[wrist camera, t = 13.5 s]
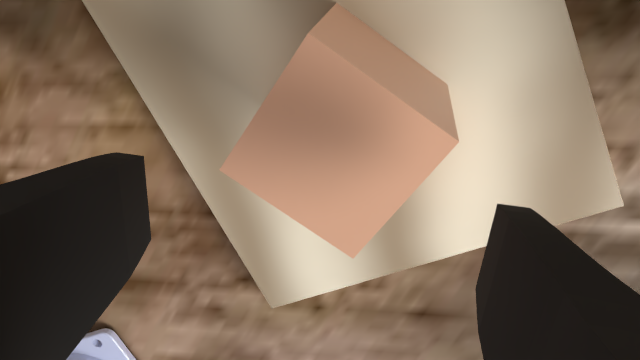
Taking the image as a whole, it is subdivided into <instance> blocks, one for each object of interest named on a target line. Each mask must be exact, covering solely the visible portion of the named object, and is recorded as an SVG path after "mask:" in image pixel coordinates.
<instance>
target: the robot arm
mask: <svg viewBox="0 0 640 360" xmlns="http://www.w3.org/2000/svg"><path fill="white" fill-rule="evenodd" d="M150 240H151V232H150V221H149V210H148V199H147V188H146V177H145V166H144V156H139V155H131V154H124V153H110V154H104V155H99V156H95V157H91V158H88V159H84V160H81V161H77V162H74V163H70V164H67V165H64V166H61V167H57V168H54V169H51V170H48V171H44V172H41V173H38V174H35V175H31V176H28V177H25V178H22V179H18V180H15V181H11V182H8V183H4V184H1V185H0V360H136V359H135V358H134V356H133V355H132V354H131V352H130V351H129V350H128V349H127V347H126V346H125V345H124V343H123V342H122V341H121V339H120V338H119V337H118V335H117V334H116V333H115V332H114V331H113V330H111V329H107V328H104V329H100V330H97V331H94V332H90V333H87V332H88V331H89V330H90V329H91V327H92V326H93V325H94V323H95V322H96V321H97V320H98V318H99V317H100V316H101V315H102V313H103V312H104V311H105V309H106V308H107V307H108V306H109V304H110V303H111V302H112V300H113V299H114V298H115V296H116V295H117V294H118V293H119V291H120V290H121V289H122V287H123V286H124V285H125V283H126V282H127V281H128V279H129V278H130V276H131V275H132V273H133V271H134V270H135V268H136V266H137V265H138V263H139V261H140V259H141V257H142V256H143V254H144V252H145V250H146V248H147V246H148V244H149V242H150ZM476 304H477V320H478V333H479V338H480V343H481V348H482V353H483V358H484V360H640V295H639V294H638V293H637V292H635V291H634V290H632V289H631V288H630V287H628V286H627V285H626V284H624V283H623V282H622V281H620V280H619V279H618V278H616V277H615V276H614V275H612V274H611V273H610V272H609V271H607V270H606V269H605V268H604V267H602V266H601V265H600V264H599V263H597V262H596V261H595V260H594V259H592V258H591V257H590V256H589V255H588V254H586V253H585V252H584V251H583V250H582V249H580V248H579V247H578V246H577V245H576V244H574V243H573V242H572V241H571V240H570V239H568V238H567V237H566V236H565V235H564V234H563V233H561V232H560V231H559V230H558V229H557V228H556V227H554V226H553V225H552V224H551V223H550V222H548V221H547V220H546V219H545V218H543V217H542V216H541V215H540V214H538V213H537V212H536V211H534V210H533V209H531V208H527V207H520V206H512V205H505V204H497V207H496V211H495V215H494V219H493V222H492V226H491V230H490V234H489V238H488V242H487V246H486V250H485V254H484V258H483V262H482V266H481V270H480V273H479V277H478V281H477V285H476Z"/></svg>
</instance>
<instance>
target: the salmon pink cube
mask: <svg viewBox="0 0 640 360" xmlns="http://www.w3.org/2000/svg"><path fill="white" fill-rule="evenodd" d="M458 143H459V138H458V133H457V128H456V124H455V119H454V114H453V109H452V104H451V99H450V94H449V89H448V85H447V84H446V83H445V82H444V81H442V80H441V79H440V78H438V77H437V76H435V75H434V74H433V73H431V72H430V71H429V70H427V69H426V68H425V67H423V66H422V65H421V64H419V63H418V62H416V61H415V60H414V59H412V58H411V57H410V56H408V55H407V54H406V53H404V52H403V51H402V50H400V49H399V48H397V47H396V46H395V45H393V44H392V43H391V42H389V41H388V40H387V39H385V38H384V37H383V36H381V35H380V34H378V33H377V32H376V31H374V30H373V29H372V28H370V27H369V26H368V25H366V24H365V23H364V22H362V21H361V20H359V19H358V18H357V17H355V16H354V15H353V14H351V13H350V12H349V11H347V10H346V9H345V8H343V7H342V6H340V5H339V4H338V3H336V4H335V5H334V6H333V7H332V8H331V9H330V10H329V11H328V13H327V14H326V15H325V16H324V17H323V18H322V19H321V20H320V21H319V22H318V23H317V24H316V25H315V26H314V27H313V28H312V29H311V30H310V31H309V33H308V34H307V35H306V37H305V39H304V40H303V42H302V43H301V45H300V46H299V48H298V49H297V51H296V52H295V54H294V55H293V57H292V59H291V60H290V62H289V63H288V65H287V66H286V68H285V69H284V71H283V72H282V74H281V76H280V77H279V79H278V80H277V82H276V83H275V85H274V86H273V88H272V89H271V91H270V92H269V94H268V96H267V97H266V99H265V100H264V102H263V103H262V105H261V106H260V108H259V109H258V111H257V112H256V114H255V116H254V117H253V119H252V120H251V122H250V123H249V125H248V126H247V128H246V129H245V131H244V133H243V134H242V136H241V137H240V139H239V140H238V142H237V143H236V145H235V146H234V148H233V149H232V151H231V153H230V154H229V156H228V157H227V159H226V160H225V162H224V163H223V165H222V166H221V168H220V169H219V170H220V171H221V172H223V173H224V174H226V175H227V176H229V177H230V178H232V179H233V180H235V181H236V182H238V183H239V184H241V185H242V186H244V187H245V188H247V189H248V190H250V191H251V192H253V193H254V194H256V195H257V196H259V197H260V198H262V199H263V200H265V201H267V202H268V203H270V204H271V205H273V206H274V207H276V208H277V209H279V210H280V211H282V212H283V213H285V214H286V215H288V216H289V217H291V218H292V219H294V220H295V221H297V222H298V223H300V224H301V225H303V226H304V227H306V228H307V229H309V230H310V231H312V232H313V233H315V234H316V235H318V236H319V237H321V238H322V239H324V240H325V241H327V242H328V243H330V244H331V245H333V246H334V247H336V248H337V249H339V250H340V251H342V252H343V253H345V254H346V255H348V256H349V257H351V258H352V259H354V257H355V256H356V255H357V254H358V253H359V252H360V251H361V250H362V249H363V247H364V246H365V245H366V244H367V243H368V242H369V241H370V240H371V239H372V238H373V236H374V235H375V234H376V233H377V232H378V231H379V230H380V229H381V228H382V227H383V225H384V224H385V223H386V222H387V221H388V220H389V219H390V218H391V217H392V216H393V214H394V213H395V212H396V211H397V210H398V209H399V208H400V207H401V206H402V205H403V203H404V202H405V201H406V200H407V199H408V198H409V197H410V196H411V195H412V193H413V192H414V191H415V190H416V189H417V188H418V187H419V186H420V185H421V184H422V182H423V181H424V180H425V179H426V178H427V177H428V176H429V175H430V174H431V173H432V171H433V170H434V169H435V168H436V167H437V166H438V165H439V164H440V163H441V162H442V160H443V159H444V158H445V157H446V156H447V155H448V154H449V153H450V152H451V151H452V149H453V148H454V147H455V146H456V145H457V144H458Z"/></svg>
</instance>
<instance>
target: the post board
mask: <svg viewBox="0 0 640 360" xmlns="http://www.w3.org/2000/svg"><path fill="white" fill-rule="evenodd" d="M82 1H83V3H84V5H85V6H86V8H87V9H88V11H89V13H90V14H91V16H92V18H93V19H94V21H95V22H96V24H97V26H98V27H99V29H100V31H101V32H102V34H103V35H104V37H105V39H106V40H107V42H108V44H109V45H110V47H111V48H112V50H113V52H114V53H115V55H116V57H117V58H118V60H119V61H120V63H121V65H122V66H123V68H124V70H125V71H126V73H127V74H128V76H129V78H130V79H131V81H132V83H133V84H134V86H135V87H136V89H137V91H138V92H139V94H140V96H141V97H142V99H143V100H144V102H145V104H146V105H147V107H148V109H149V110H150V112H151V113H152V115H153V117H154V118H155V120H156V121H157V123H158V125H159V126H160V128H161V130H162V131H163V133H164V134H165V136H166V138H167V139H168V141H169V143H170V144H171V146H172V147H173V149H174V151H175V152H176V154H177V156H178V157H179V159H180V160H181V162H182V164H183V165H184V167H185V169H186V170H187V172H188V173H189V175H190V177H191V178H192V180H193V182H194V183H195V185H196V186H197V188H198V190H199V191H200V193H201V195H202V196H203V198H204V199H205V201H206V203H207V204H208V206H209V208H210V209H211V211H212V212H213V214H214V216H215V217H216V219H217V221H218V222H219V224H220V225H221V227H222V229H223V230H224V232H225V233H226V235H227V237H228V238H229V240H230V242H231V243H232V245H233V246H234V248H235V250H236V251H237V253H238V255H239V256H240V258H241V259H242V261H243V263H244V264H245V266H246V268H247V269H248V271H249V272H250V274H251V276H252V277H253V279H254V281H255V282H256V284H257V285H258V287H259V289H260V290H261V292H262V294H263V295H264V297H265V298H266V300H267V302H268V303H269V305H270V307H271V308H275V307H279V306H282V305H285V304H289V303H292V302H296V301H299V300H303V299H306V298H309V297H313V296H316V295H320V294H323V293H327V292H330V291H333V290H337V289H340V288H344V287H347V286H351V285H354V284H357V283H361V282H364V281H368V280H371V279H375V278H378V277H381V276H385V275H388V274H392V273H395V272H399V271H402V270H405V269H409V268H412V267H416V266H419V265H423V264H426V263H429V262H433V261H436V260H440V259H443V258H447V257H450V256H453V255H457V254H460V253H464V252H467V251H471V250H474V249H477V248H481V247H484V246H487V242H488V238H489V234H490V230H491V226H492V222H493V219H494V215H495V211H496V207H497V204H505V205H512V206H520V207H527V208H531V209H533V210H534V211H536V212H537V213H538V214H540V215H541V216H542V217H543V218H545V219H546V220H547V221H548V222H550V223H551V224H552V225H553V226H556V225H560V224H563V223H567V222H570V221H573V220H577V219H580V218H584V217H587V216H591V215H594V214H597V213H601V212H604V211H608V210H611V209H615V208H618V207H621V206H624V204H623V201H622V197H621V194H620V190H619V187H618V183H617V180H616V176H615V173H614V169H613V166H612V163H611V159H610V156H609V152H608V149H607V145H606V142H605V138H604V135H603V131H602V128H601V125H600V121H599V118H598V114H597V111H596V107H595V104H594V100H593V97H592V93H591V90H590V87H589V83H588V80H587V76H586V73H585V69H584V66H583V62H582V59H581V55H580V52H579V49H578V45H577V42H576V38H575V35H574V31H573V28H572V24H571V21H570V17H569V14H568V11H567V7H566V4H565V0H82ZM336 3H338V4H339V5H340V6H342V7H343V8H345V9H346V10H347V11H349V12H350V13H351V14H353V15H354V16H355V17H357V18H358V19H359V20H361V21H362V22H364V23H365V24H366V25H368V26H369V27H370V28H372V29H373V30H374V31H376V32H377V33H378V34H380V35H381V36H383V37H384V38H385V39H387V40H388V41H389V42H391V43H392V44H393V45H395V46H396V47H397V48H399V49H400V50H402V51H403V52H404V53H406V54H407V55H408V56H410V57H411V58H412V59H414V60H415V61H416V62H418V63H419V64H421V65H422V66H423V67H425V68H426V69H427V70H429V71H430V72H431V73H433V74H434V75H435V76H437V77H438V78H440V79H441V80H442V81H444V82H445V83H446V84H447V85H448V89H449V94H450V99H451V104H452V109H453V114H454V119H455V124H456V128H457V133H458V138H459V143H458V144H457V145H456V146H455V147H454V148H453V149H452V151H451V152H450V153H449V154H448V155H447V156H446V157H445V158H444V159H443V160H442V162H441V163H440V164H439V165H438V166H437V167H436V168H435V169H434V170H433V171H432V173H431V174H430V175H429V176H428V177H427V178H426V179H425V180H424V181H423V182H422V184H421V185H420V186H419V187H418V188H417V189H416V190H415V191H414V192H413V193H412V195H411V196H410V197H409V198H408V199H407V200H406V201H405V202H404V203H403V205H402V206H401V207H400V208H399V209H398V210H397V211H396V212H395V213H394V214H393V216H392V217H391V218H390V219H389V220H388V221H387V222H386V223H385V224H384V225H383V227H382V228H381V229H380V230H379V231H378V232H377V233H376V234H375V235H374V236H373V238H372V239H371V240H370V241H369V242H368V243H367V244H366V245H365V246H364V247H363V249H362V250H361V251H360V252H359V253H358V254H357V255H356V256H355V257H354V259H352V258H351V257H349V256H348V255H346V254H345V253H343V252H342V251H340V250H339V249H337V248H336V247H334V246H333V245H331V244H330V243H328V242H327V241H325V240H324V239H322V238H321V237H319V236H318V235H316V234H315V233H313V232H312V231H310V230H309V229H307V228H306V227H304V226H303V225H301V224H300V223H298V222H297V221H295V220H294V219H292V218H291V217H289V216H288V215H286V214H285V213H283V212H282V211H280V210H279V209H277V208H276V207H274V206H273V205H271V204H270V203H268V202H267V201H265V200H263V199H262V198H260V197H259V196H257V195H256V194H254V193H253V192H251V191H250V190H248V189H247V188H245V187H244V186H242V185H241V184H239V183H238V182H236V181H235V180H233V179H232V178H230V177H229V176H227V175H226V174H224V173H223V172H221V171H220V170H219V169H220V168H221V166H222V165H223V163H224V162H225V160H226V159H227V157H228V156H229V154H230V153H231V151H232V149H233V148H234V146H235V145H236V143H237V142H238V140H239V139H240V137H241V136H242V134H243V133H244V131H245V129H246V128H247V126H248V125H249V123H250V122H251V120H252V119H253V117H254V116H255V114H256V112H257V111H258V109H259V108H260V106H261V105H262V103H263V102H264V100H265V99H266V97H267V96H268V94H269V92H270V91H271V89H272V88H273V86H274V85H275V83H276V82H277V80H278V79H279V77H280V76H281V74H282V72H283V71H284V69H285V68H286V66H287V65H288V63H289V62H290V60H291V59H292V57H293V55H294V54H295V52H296V51H297V49H298V48H299V46H300V45H301V43H302V42H303V40H304V39H305V37H306V35H307V34H308V33H309V31H310V30H311V29H312V28H313V27H314V26H315V25H316V24H317V23H318V22H319V21H320V20H321V19H322V18H323V17H324V16H325V15H326V14H327V13H328V11H329V10H330V9H331V8H332V7H333V6H334V5H335V4H336Z"/></svg>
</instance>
